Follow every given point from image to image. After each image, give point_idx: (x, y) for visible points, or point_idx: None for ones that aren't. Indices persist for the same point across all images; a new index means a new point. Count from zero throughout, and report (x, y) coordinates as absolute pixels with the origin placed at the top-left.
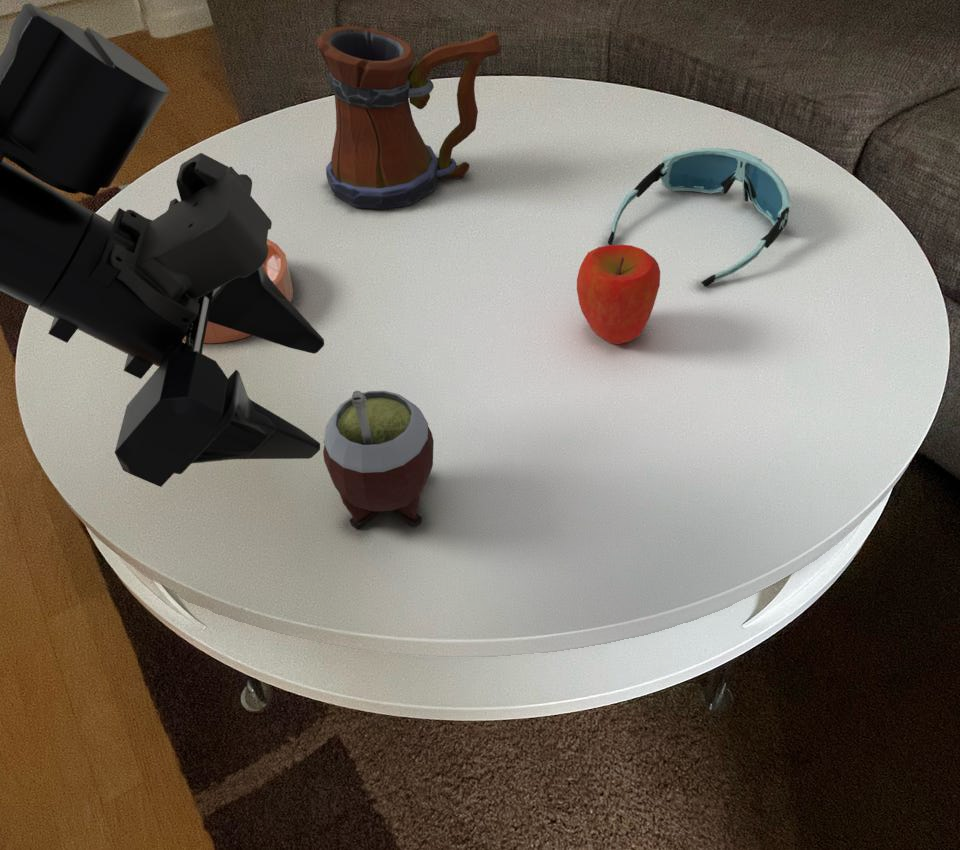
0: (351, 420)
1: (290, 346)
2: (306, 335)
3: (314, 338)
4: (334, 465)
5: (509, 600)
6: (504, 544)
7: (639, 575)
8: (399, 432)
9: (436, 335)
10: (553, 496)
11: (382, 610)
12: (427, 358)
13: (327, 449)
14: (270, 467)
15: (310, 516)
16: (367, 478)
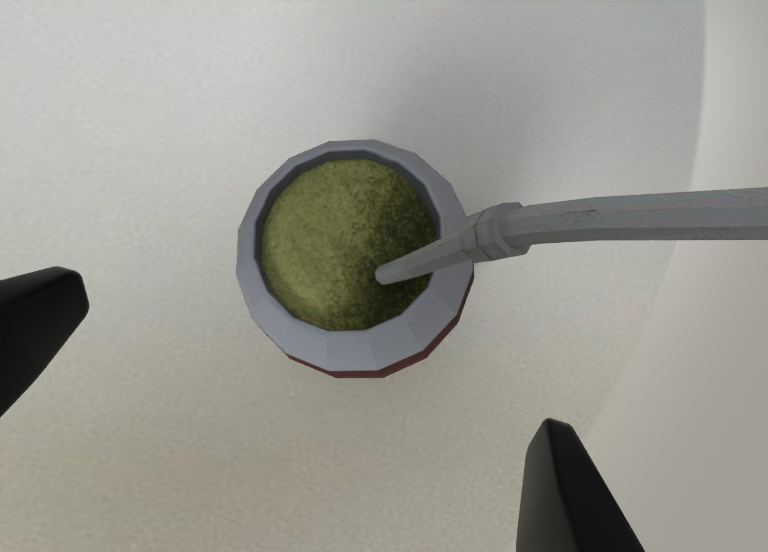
0: (320, 290)
1: (27, 382)
2: (21, 317)
3: (44, 293)
4: (394, 365)
5: (625, 185)
6: (525, 156)
7: (644, 15)
8: (393, 200)
9: (49, 99)
10: (466, 62)
11: (578, 364)
12: (94, 130)
13: (358, 369)
14: (208, 455)
15: (348, 418)
16: (460, 309)
